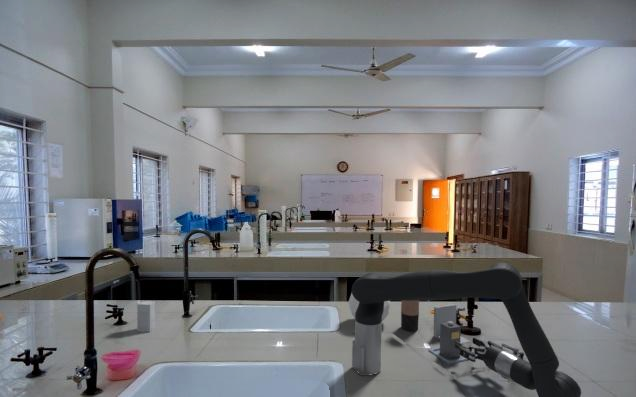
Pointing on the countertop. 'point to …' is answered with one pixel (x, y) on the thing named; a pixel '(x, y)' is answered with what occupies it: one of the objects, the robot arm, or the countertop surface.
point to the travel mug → (409, 315)
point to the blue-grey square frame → (444, 358)
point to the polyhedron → (354, 304)
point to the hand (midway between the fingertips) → (464, 341)
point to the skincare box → (146, 316)
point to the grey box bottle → (449, 339)
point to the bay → (445, 318)
